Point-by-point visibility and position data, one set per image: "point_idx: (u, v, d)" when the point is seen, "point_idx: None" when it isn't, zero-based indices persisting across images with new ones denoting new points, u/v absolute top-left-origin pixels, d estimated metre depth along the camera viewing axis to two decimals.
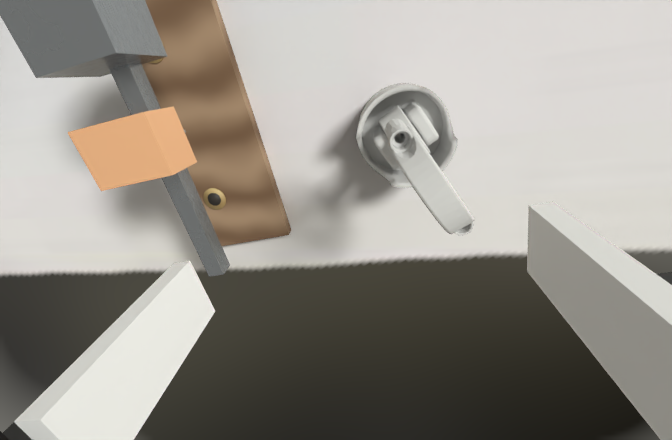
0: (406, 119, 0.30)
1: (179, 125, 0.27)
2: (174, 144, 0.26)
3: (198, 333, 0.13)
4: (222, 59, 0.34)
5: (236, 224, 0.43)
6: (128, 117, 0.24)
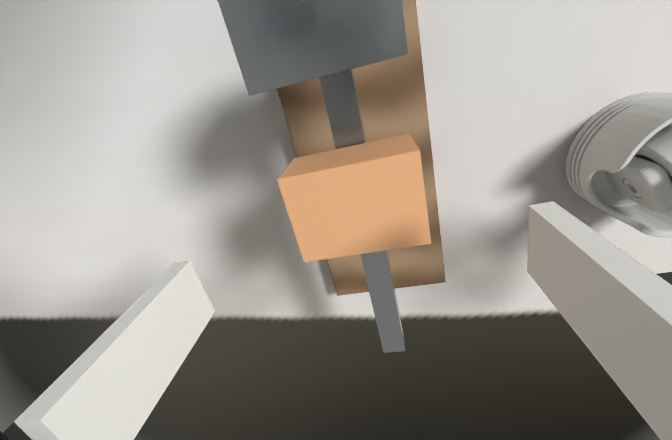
0: None
1: None
2: None
3: (198, 333, 0.13)
4: (410, 60, 0.25)
5: None
6: (389, 158, 0.15)
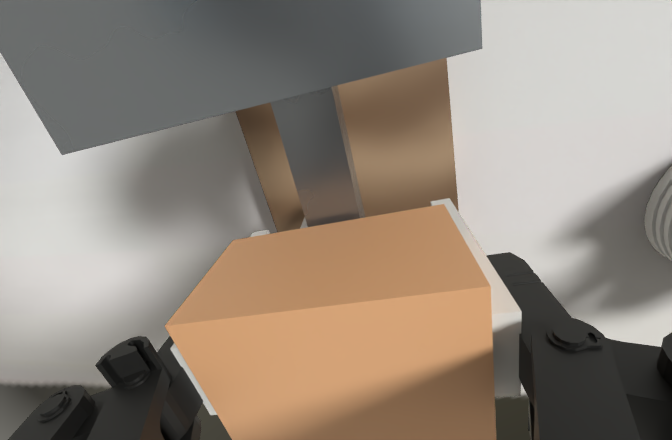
0: None
1: None
2: None
3: None
4: (429, 65, 0.16)
5: None
6: (415, 299, 0.06)
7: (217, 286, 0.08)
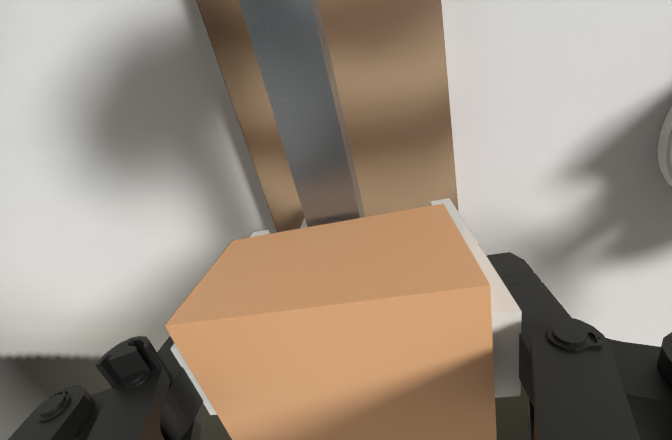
0: None
1: None
2: None
3: None
4: None
5: None
6: (415, 298, 0.06)
7: (217, 286, 0.08)
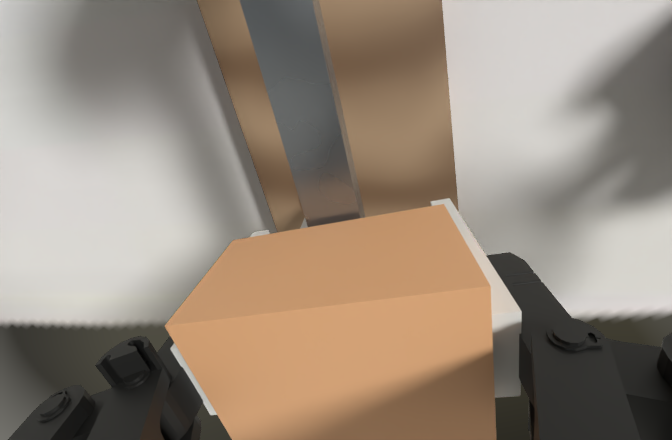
0: None
1: None
2: None
3: None
4: None
5: None
6: (415, 299, 0.06)
7: (217, 286, 0.08)
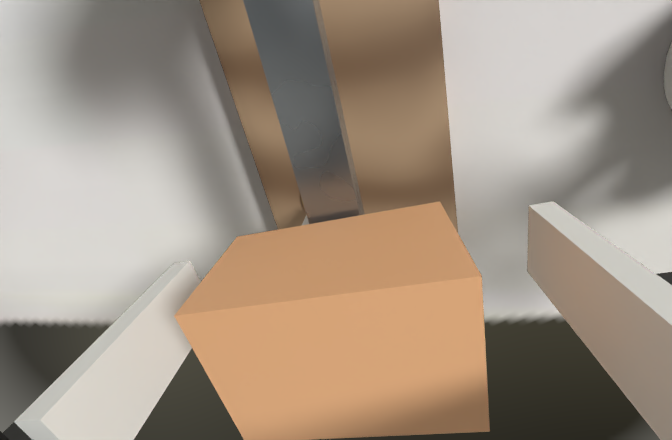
0: None
1: None
2: None
3: None
4: None
5: None
6: (411, 289, 0.07)
7: (223, 279, 0.08)
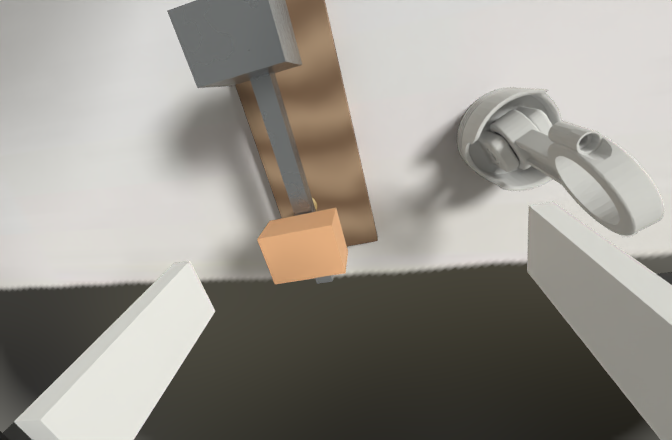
0: (530, 122, 0.30)
1: (339, 222, 0.31)
2: (341, 244, 0.30)
3: (198, 333, 0.13)
4: (330, 67, 0.34)
5: None
6: (316, 228, 0.27)
7: (268, 231, 0.29)
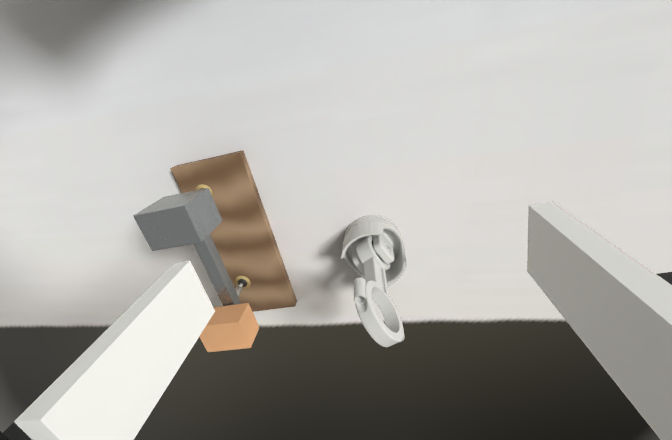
0: (372, 252, 0.46)
1: (251, 311, 0.48)
2: (250, 327, 0.46)
3: (198, 333, 0.13)
4: (252, 201, 0.51)
5: (257, 298, 0.59)
6: (229, 323, 0.44)
7: None
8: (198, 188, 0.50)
